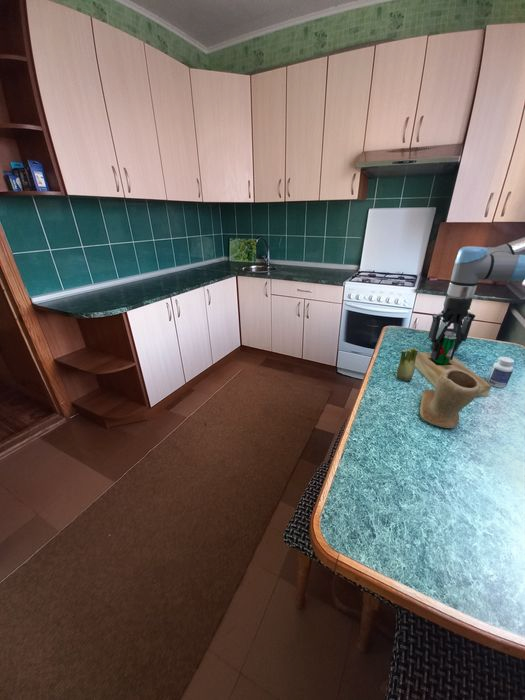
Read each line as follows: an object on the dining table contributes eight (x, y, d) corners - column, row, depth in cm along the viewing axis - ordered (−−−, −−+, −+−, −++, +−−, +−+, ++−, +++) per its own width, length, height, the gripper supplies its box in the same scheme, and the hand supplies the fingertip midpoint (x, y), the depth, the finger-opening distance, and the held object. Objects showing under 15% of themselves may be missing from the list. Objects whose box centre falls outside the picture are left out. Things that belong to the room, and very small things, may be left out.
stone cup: (465, 438, 77) (483, 391, 71) (416, 422, 83) (428, 378, 76) (464, 407, 89) (480, 365, 82) (421, 395, 95) (433, 355, 88)
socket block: (444, 361, 115) (447, 352, 113) (487, 396, 94) (491, 386, 92) (410, 362, 114) (412, 353, 113) (445, 397, 93) (448, 387, 92)
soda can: (446, 368, 103) (455, 337, 98) (430, 363, 106) (439, 333, 101) (449, 362, 107) (459, 333, 101) (434, 358, 110) (443, 329, 104)
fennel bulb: (395, 381, 103) (402, 350, 97) (394, 374, 107) (400, 344, 101) (413, 383, 101) (421, 353, 95) (411, 376, 105) (419, 346, 100)
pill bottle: (509, 389, 97) (520, 363, 93) (491, 387, 98) (502, 362, 93) (500, 380, 102) (511, 356, 97) (483, 379, 103) (493, 354, 98)
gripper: (478, 292, 99) (459, 352, 109) (426, 294, 99) (411, 354, 109) (494, 298, 92) (472, 362, 103) (438, 300, 92) (422, 364, 103)
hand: (441, 358), depth 106 cm, fingers closed on soda can, 5 cm apart
